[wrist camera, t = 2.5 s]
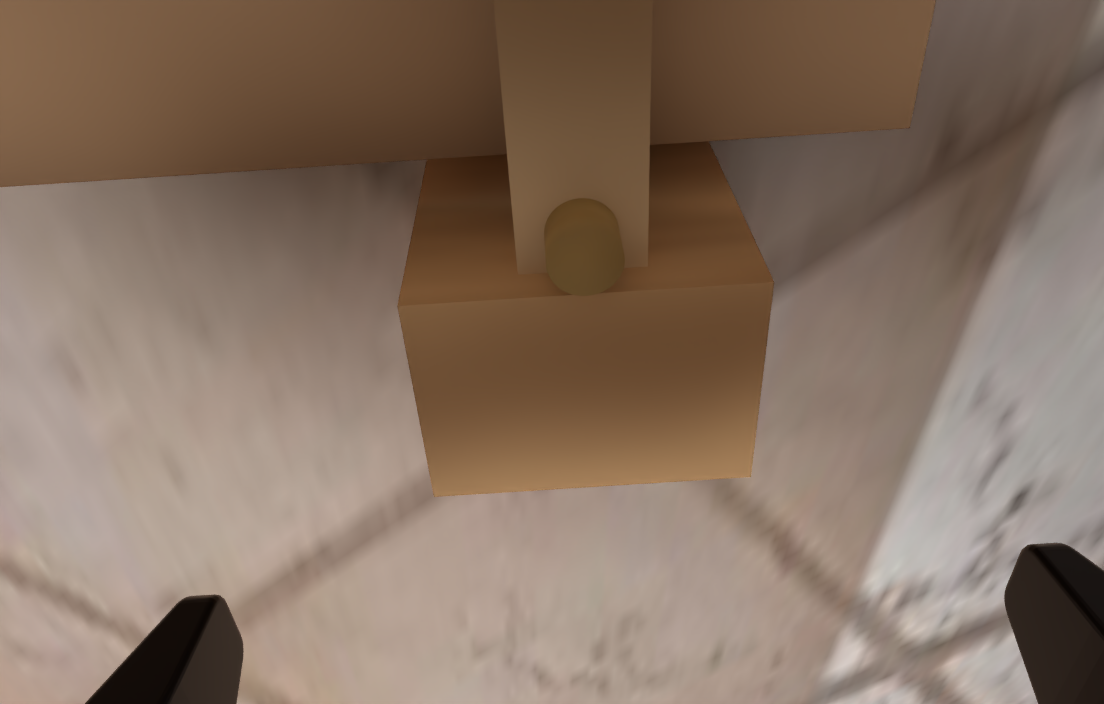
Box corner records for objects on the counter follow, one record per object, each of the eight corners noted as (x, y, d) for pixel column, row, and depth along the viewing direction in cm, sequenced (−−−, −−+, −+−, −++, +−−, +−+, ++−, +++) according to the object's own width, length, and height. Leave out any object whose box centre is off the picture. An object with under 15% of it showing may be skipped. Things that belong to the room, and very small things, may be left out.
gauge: (696, 303, 17) (753, 486, 13) (452, 318, 17) (433, 506, 13) (735, -375, 11) (867, -434, 7) (353, -350, 11) (258, -394, 7)
